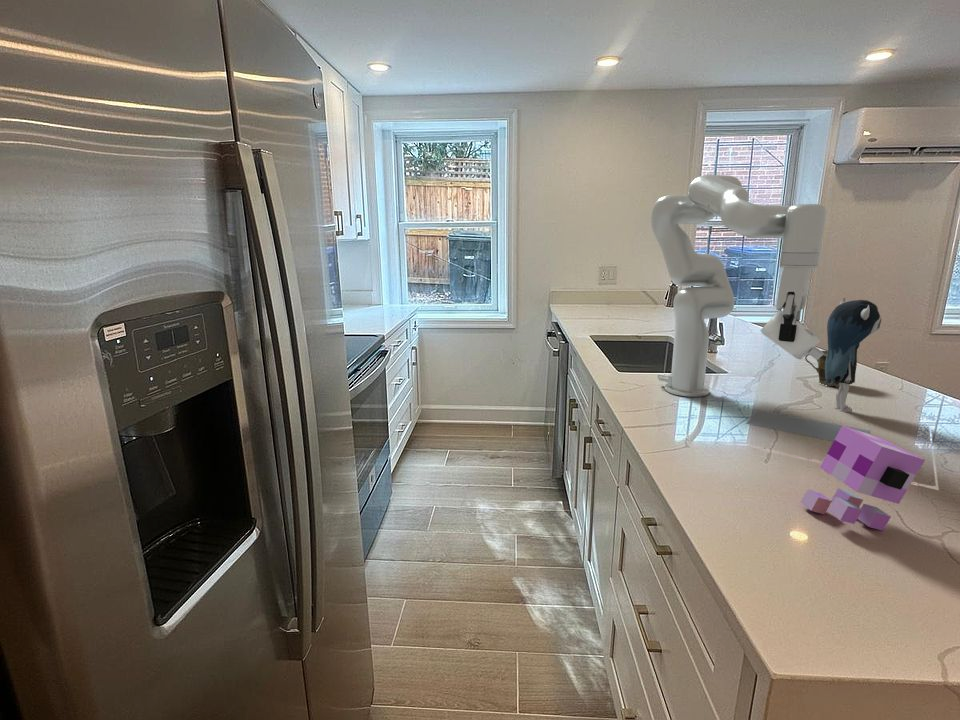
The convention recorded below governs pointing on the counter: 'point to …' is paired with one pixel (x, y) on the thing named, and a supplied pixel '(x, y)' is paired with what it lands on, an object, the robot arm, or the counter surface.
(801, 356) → the plug
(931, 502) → the counter surface
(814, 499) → the toy
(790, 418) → the mat
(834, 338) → the toy
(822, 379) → the ceramic cup
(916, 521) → the counter surface
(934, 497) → the counter surface
